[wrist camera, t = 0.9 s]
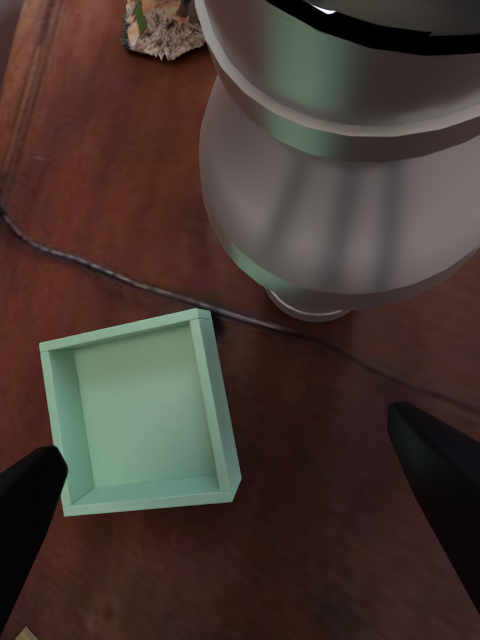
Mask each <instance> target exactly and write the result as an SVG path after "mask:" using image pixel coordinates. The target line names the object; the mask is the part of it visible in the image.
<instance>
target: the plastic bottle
mask: <svg viewBox="0 0 480 640" xmlns="http://www.w3.org/2000/svg"><path fill="white" fill-rule="evenodd" d="M195 7H196V11H197V14H198V17H199V20H200V24H201V27H202V30H203V33H204V37H205V40H206V43H207V46H208V49H209V52H210V55H211V57H212V60H213V63H214V66H215V69H216V72H217V77H216V80H215V83H214V86H213V89H212V92H211V95H210V98H209V101H208V104H207V108H206V111H205V114H204V118H203V121H202V124H201V132H200V142H199V151H198V153H199V164H200V176H201V186H202V196H203V201H204V205H205V208H206V212H207V215H208V219H209V222H210V225H211V227H212V228H213V230H214V232H215V234H216V236H217V238H218V240H219V242H220V244H221V246H222V247H223V248H224V250H225V251H226V252H227V253H228V255H229V256H230V257H231V258H232V260H233V261H234V262H235V263H236V265H237V266H238V267H239V268H240V269H242V270H243V271H244V272H245V273H246V274H248V275H249V276H250V277H251V278H252V279H254V280H255V281H256V282H257V283H258V284H260V285H262V286H263V287H264V288H265V290H266V292H267V294H268V296H269V298H270V299H271V300H272V301H273V303H274V304H275V305H276V306H277V307H278V308H279V309H281V310H282V311H283V312H284V313H286V314H288V315H290V316H292V317H293V318H296V319H299V320H302V321H308V322H326V321H330V320H334V319H337V318H339V317H342V316H344V315H346V314H347V313H349V312H350V311H351V310H357V309H373V308H377V307H381V306H385V305H389V304H393V303H397V302H401V301H405V300H407V299H409V298H411V297H414V296H416V295H418V294H420V293H422V292H424V291H427V290H429V289H431V288H433V287H435V286H436V285H438V284H439V283H441V282H442V281H443V280H445V279H446V278H448V277H449V276H450V275H452V274H453V273H455V272H456V271H457V270H459V269H460V268H461V267H462V266H463V265H464V264H465V263H466V262H467V261H468V260H469V259H470V258H471V257H472V256H473V255H474V253H475V252H476V251H477V250H478V249H479V248H480V0H195Z"/></svg>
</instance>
